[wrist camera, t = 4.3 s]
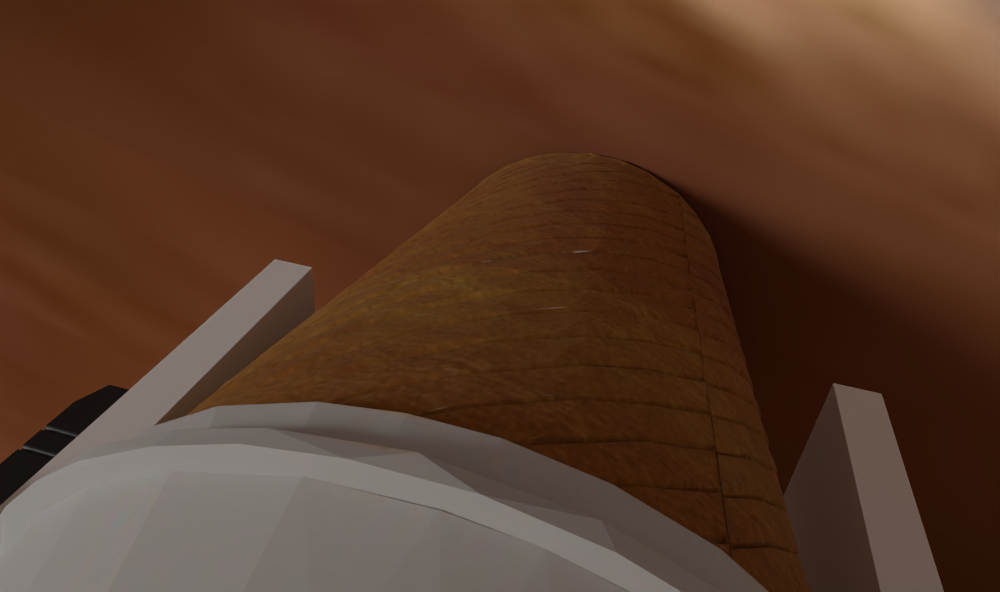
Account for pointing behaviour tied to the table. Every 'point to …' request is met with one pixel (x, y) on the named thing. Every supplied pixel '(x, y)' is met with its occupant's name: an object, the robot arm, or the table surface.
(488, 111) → the table surface
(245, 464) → the disposable coffee cup
